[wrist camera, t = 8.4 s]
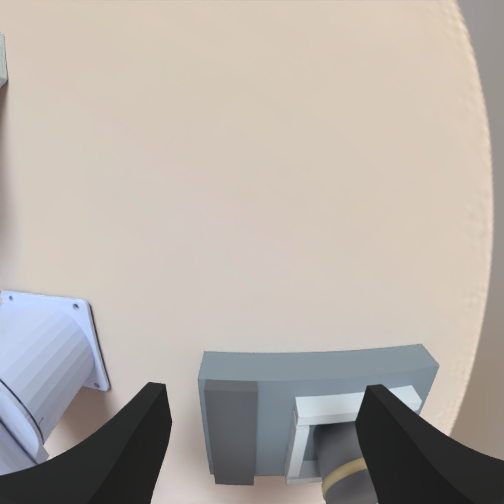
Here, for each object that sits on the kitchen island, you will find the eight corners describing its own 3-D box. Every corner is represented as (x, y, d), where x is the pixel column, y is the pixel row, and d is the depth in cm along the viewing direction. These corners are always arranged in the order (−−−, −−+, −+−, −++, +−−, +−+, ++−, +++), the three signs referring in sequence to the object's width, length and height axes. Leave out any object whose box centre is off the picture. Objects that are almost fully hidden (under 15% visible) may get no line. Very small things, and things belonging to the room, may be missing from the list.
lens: (311, 453, 19) (322, 517, 13) (312, 411, 18) (327, 483, 12) (374, 441, 19) (395, 500, 13) (384, 397, 18) (415, 462, 12)
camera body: (213, 448, 23) (208, 490, 18) (204, 351, 20) (192, 398, 15) (386, 438, 23) (401, 474, 18) (421, 343, 20) (451, 380, 15)
